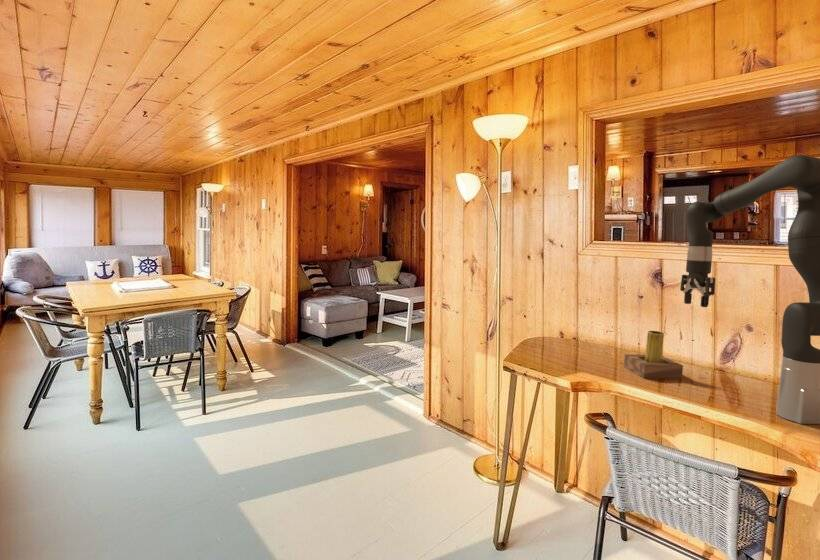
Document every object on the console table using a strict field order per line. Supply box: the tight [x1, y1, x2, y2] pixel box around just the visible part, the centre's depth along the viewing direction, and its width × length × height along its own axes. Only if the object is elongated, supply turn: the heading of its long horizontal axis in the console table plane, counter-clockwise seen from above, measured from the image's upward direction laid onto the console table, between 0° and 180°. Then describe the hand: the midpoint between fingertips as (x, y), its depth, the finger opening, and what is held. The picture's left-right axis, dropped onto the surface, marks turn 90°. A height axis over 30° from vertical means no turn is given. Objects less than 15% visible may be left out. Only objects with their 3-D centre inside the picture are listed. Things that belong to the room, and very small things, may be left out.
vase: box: [644, 330, 665, 363], centre depth 173 cm, size 6×6×14 cm
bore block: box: [623, 353, 684, 380], centre depth 174 cm, size 14×14×5 cm
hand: (695, 305), depth 166 cm, fingers open, 8 cm apart
